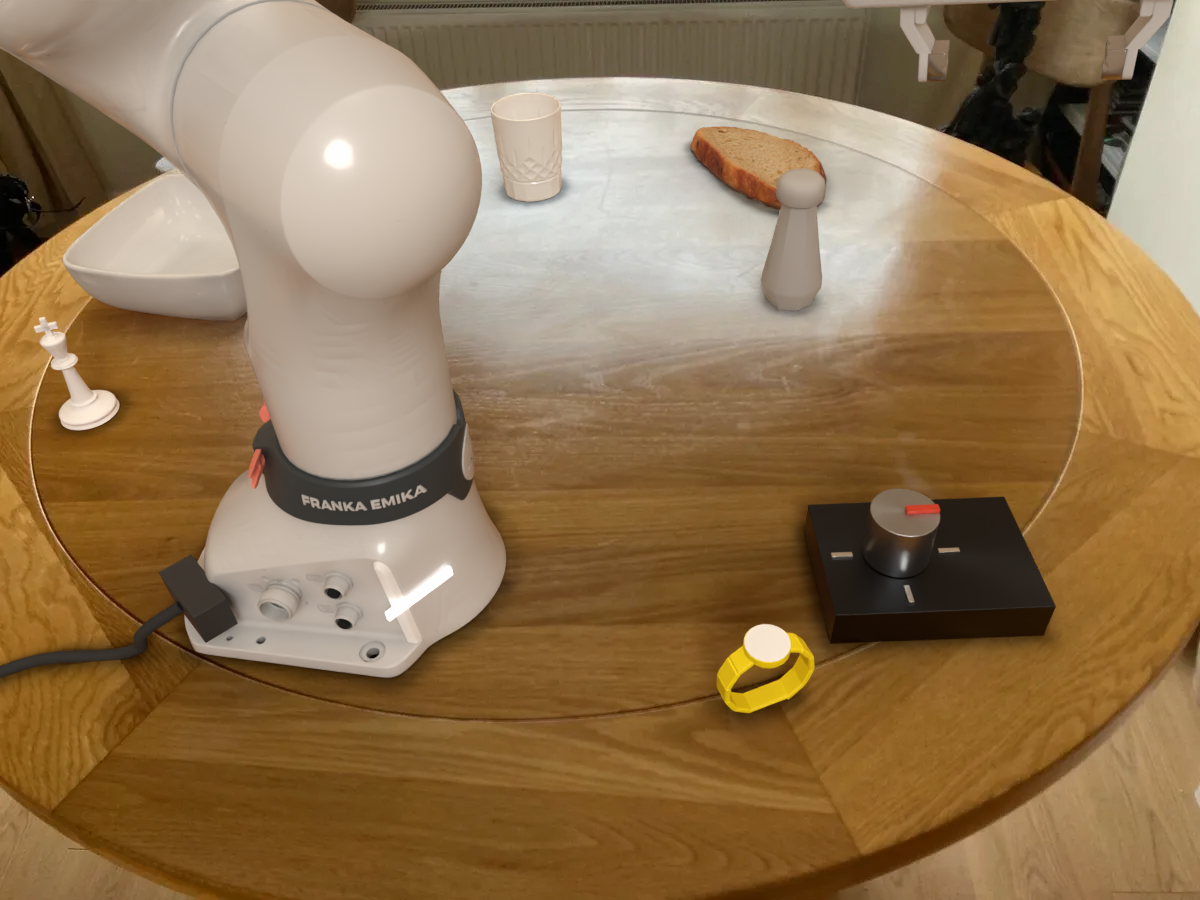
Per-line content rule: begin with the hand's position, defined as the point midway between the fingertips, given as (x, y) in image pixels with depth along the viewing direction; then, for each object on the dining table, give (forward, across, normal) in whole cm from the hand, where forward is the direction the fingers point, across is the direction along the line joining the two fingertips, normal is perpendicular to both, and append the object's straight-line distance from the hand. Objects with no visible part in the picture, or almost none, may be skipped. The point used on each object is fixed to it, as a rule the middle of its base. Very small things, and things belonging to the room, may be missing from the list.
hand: (1021, 76), depth 53 cm
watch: (+28, -10, -26) cm, 40 cm away
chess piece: (+22, -73, -17) cm, 78 cm away
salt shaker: (+31, -19, +19) cm, 41 cm away
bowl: (+24, -76, +5) cm, 80 cm away
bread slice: (+33, -29, +44) cm, 62 cm away
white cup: (+29, -52, +33) cm, 69 cm away
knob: (+27, -4, -14) cm, 30 cm away
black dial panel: (+30, -2, -13) cm, 33 cm away
